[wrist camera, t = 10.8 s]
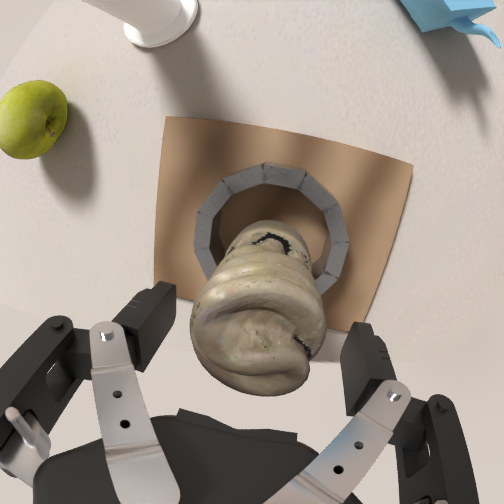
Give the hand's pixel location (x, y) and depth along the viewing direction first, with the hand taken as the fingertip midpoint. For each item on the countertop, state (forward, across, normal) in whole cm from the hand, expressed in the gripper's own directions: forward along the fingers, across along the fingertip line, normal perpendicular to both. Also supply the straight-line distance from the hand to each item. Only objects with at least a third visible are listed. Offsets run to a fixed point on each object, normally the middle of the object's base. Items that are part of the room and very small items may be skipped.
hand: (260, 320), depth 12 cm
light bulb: (+12, 0, 0) cm, 12 cm away
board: (+13, 0, 0) cm, 13 cm away
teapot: (+13, -10, -24) cm, 29 cm away
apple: (+12, +24, -8) cm, 29 cm away
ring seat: (+13, 0, 0) cm, 13 cm away
